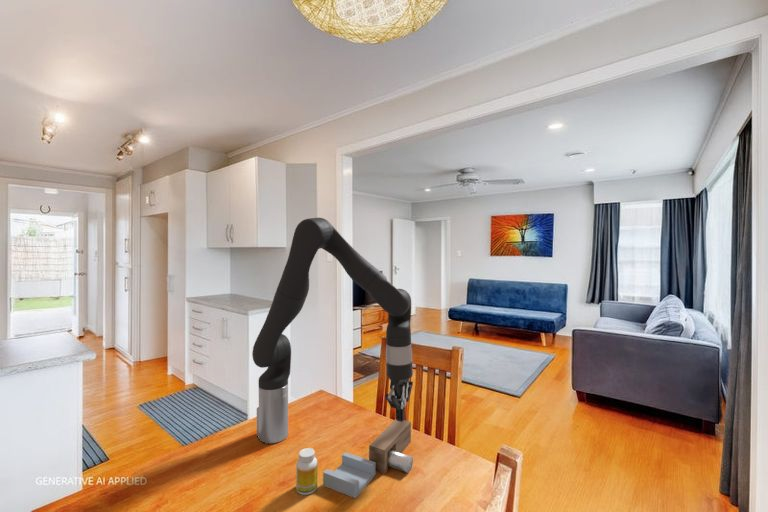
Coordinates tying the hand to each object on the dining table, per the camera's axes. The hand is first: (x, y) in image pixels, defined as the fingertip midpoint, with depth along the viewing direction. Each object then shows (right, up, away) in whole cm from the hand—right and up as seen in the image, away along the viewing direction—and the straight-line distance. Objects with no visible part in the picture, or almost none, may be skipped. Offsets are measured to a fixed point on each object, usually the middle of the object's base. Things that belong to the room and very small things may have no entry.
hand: (400, 419), depth 100 cm
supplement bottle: (-25, -14, -9) cm, 30 cm away
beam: (-2, -13, +6) cm, 14 cm away
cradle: (-14, -13, -6) cm, 20 cm away
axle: (-3, -13, +1) cm, 14 cm away
